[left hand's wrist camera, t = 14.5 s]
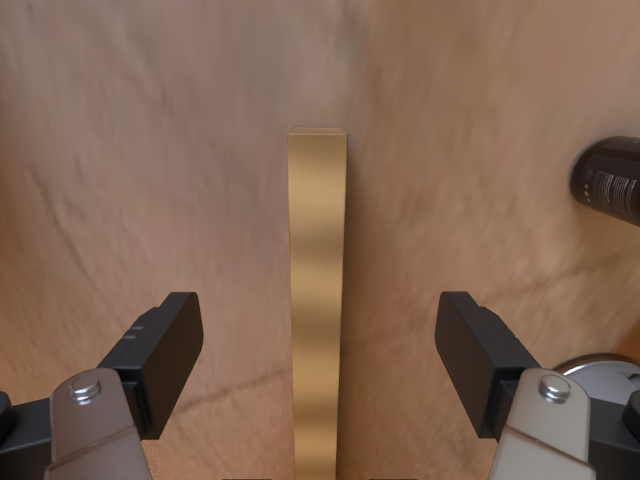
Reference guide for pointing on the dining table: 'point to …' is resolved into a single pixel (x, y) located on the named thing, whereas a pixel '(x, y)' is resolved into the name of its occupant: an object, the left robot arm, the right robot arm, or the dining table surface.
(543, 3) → the dining table surface
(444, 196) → the dining table surface
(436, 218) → the dining table surface
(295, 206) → the bar
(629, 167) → the supplement bottle
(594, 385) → the right robot arm
